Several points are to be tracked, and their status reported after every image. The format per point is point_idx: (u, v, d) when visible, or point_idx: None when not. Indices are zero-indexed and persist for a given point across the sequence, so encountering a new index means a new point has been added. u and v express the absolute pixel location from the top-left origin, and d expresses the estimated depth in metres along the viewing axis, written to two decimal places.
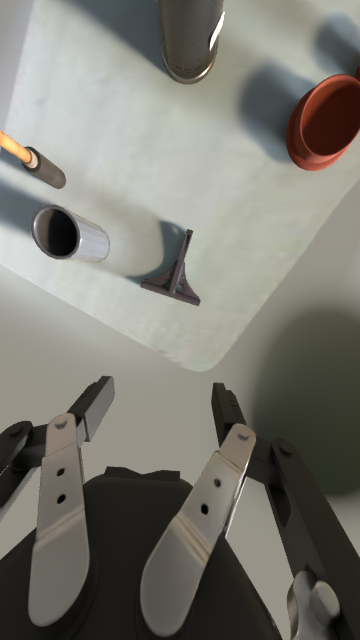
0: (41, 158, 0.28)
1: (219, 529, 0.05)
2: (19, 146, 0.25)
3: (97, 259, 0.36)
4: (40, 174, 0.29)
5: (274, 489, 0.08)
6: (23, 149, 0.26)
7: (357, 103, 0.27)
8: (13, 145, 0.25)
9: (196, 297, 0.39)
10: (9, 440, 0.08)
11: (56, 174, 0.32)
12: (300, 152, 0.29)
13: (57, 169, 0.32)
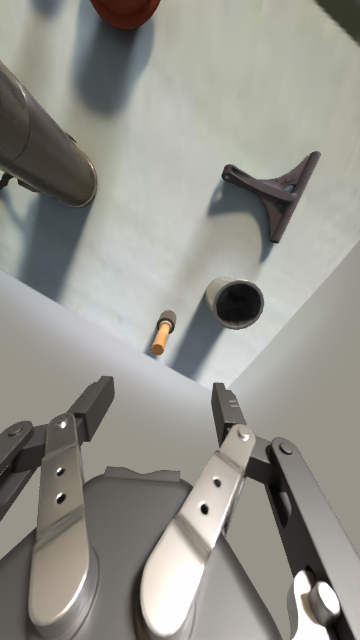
0: (164, 317, 0.33)
1: (219, 529, 0.05)
2: (162, 326, 0.30)
3: None
4: (174, 322, 0.34)
5: (274, 489, 0.08)
6: (163, 325, 0.31)
7: None
8: (164, 329, 0.29)
9: (306, 160, 0.29)
10: (9, 440, 0.08)
11: (169, 313, 0.36)
12: None
13: (165, 312, 0.36)
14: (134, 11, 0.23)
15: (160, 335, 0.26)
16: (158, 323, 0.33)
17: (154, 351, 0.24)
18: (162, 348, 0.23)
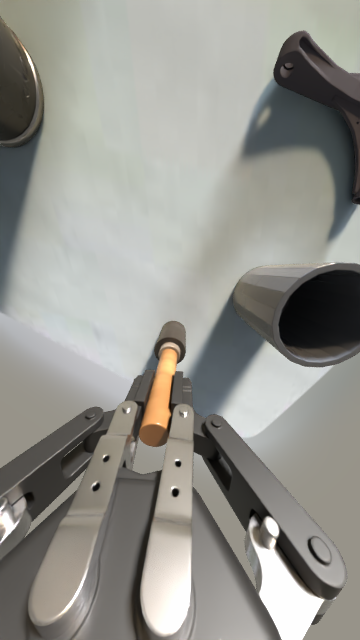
0: (167, 336, 0.19)
1: (191, 498, 0.06)
2: (165, 357, 0.16)
3: None
4: (184, 344, 0.20)
5: (213, 462, 0.09)
6: (165, 354, 0.17)
7: None
8: (168, 363, 0.15)
9: None
10: (84, 421, 0.09)
11: (175, 327, 0.22)
12: None
13: (168, 325, 0.22)
14: None
15: (162, 387, 0.12)
16: (157, 347, 0.19)
17: (146, 439, 0.09)
18: (166, 433, 0.09)
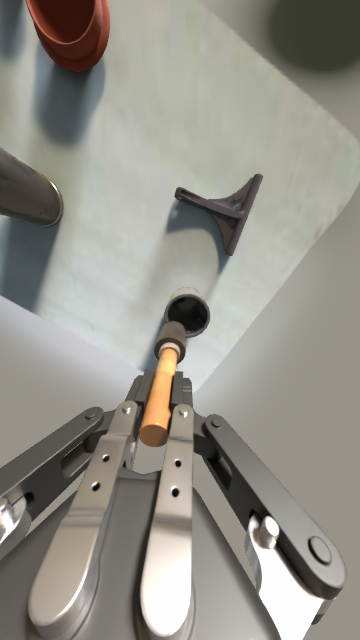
0: (166, 336, 0.19)
1: (191, 498, 0.06)
2: (165, 357, 0.16)
3: None
4: (184, 344, 0.20)
5: (213, 461, 0.09)
6: (165, 354, 0.17)
7: None
8: (168, 363, 0.15)
9: (250, 181, 0.31)
10: (84, 421, 0.09)
11: (175, 327, 0.22)
12: (95, 39, 0.25)
13: (168, 326, 0.22)
14: (83, 57, 0.26)
15: (161, 387, 0.12)
16: (157, 347, 0.19)
17: (146, 440, 0.10)
18: (166, 433, 0.09)
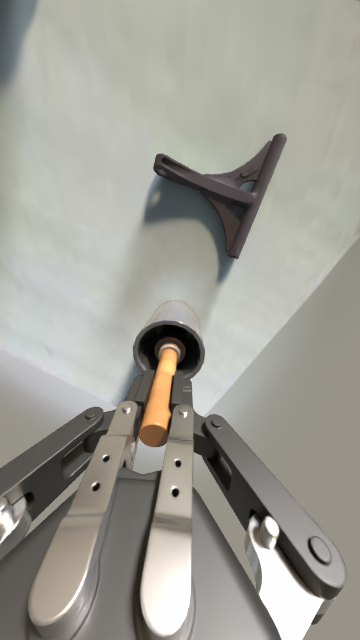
0: (167, 336, 0.19)
1: (191, 498, 0.06)
2: (165, 357, 0.16)
3: (196, 317, 0.26)
4: (184, 344, 0.20)
5: (213, 461, 0.09)
6: (165, 354, 0.17)
7: None
8: (168, 363, 0.15)
9: (268, 146, 0.21)
10: (84, 421, 0.09)
11: (175, 327, 0.22)
12: None
13: (168, 326, 0.22)
14: None
15: (162, 387, 0.12)
16: (157, 347, 0.19)
17: (146, 440, 0.09)
18: (166, 433, 0.09)
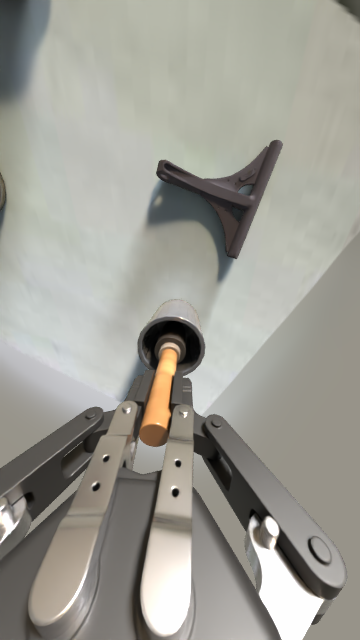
0: (167, 336, 0.19)
1: (191, 498, 0.06)
2: (165, 357, 0.16)
3: (197, 314, 0.27)
4: (184, 344, 0.20)
5: (213, 462, 0.09)
6: (165, 354, 0.17)
7: None
8: (168, 363, 0.15)
9: (265, 151, 0.22)
10: (84, 421, 0.09)
11: (175, 327, 0.22)
12: None
13: (168, 326, 0.22)
14: None
15: (161, 387, 0.12)
16: (157, 347, 0.19)
17: (146, 439, 0.10)
18: (166, 433, 0.09)
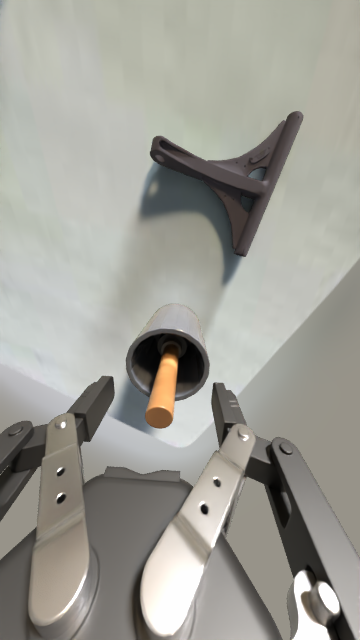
0: None
1: (219, 529, 0.05)
2: (167, 351, 0.17)
3: (198, 321, 0.23)
4: (186, 340, 0.21)
5: (274, 489, 0.08)
6: (168, 348, 0.18)
7: None
8: (171, 356, 0.16)
9: (281, 127, 0.18)
10: (9, 440, 0.08)
11: None
12: None
13: None
14: None
15: (165, 376, 0.13)
16: (160, 342, 0.20)
17: (152, 421, 0.11)
18: (170, 415, 0.10)
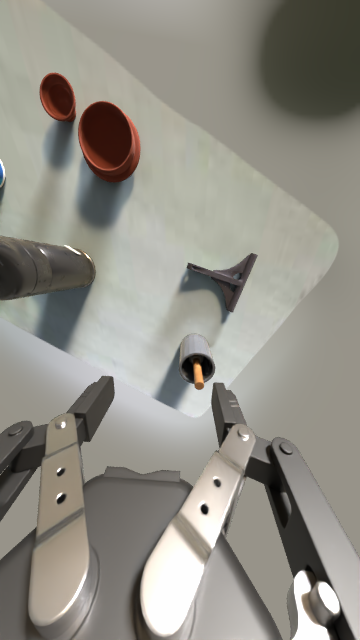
0: None
1: (219, 529, 0.05)
2: (196, 361, 0.38)
3: (208, 344, 0.44)
4: None
5: (274, 489, 0.08)
6: (195, 360, 0.39)
7: (92, 112, 0.30)
8: (198, 364, 0.37)
9: (248, 257, 0.39)
10: (9, 440, 0.08)
11: None
12: (129, 164, 0.33)
13: None
14: (119, 174, 0.33)
15: (198, 372, 0.34)
16: (190, 356, 0.41)
17: (197, 387, 0.31)
18: (203, 385, 0.31)
